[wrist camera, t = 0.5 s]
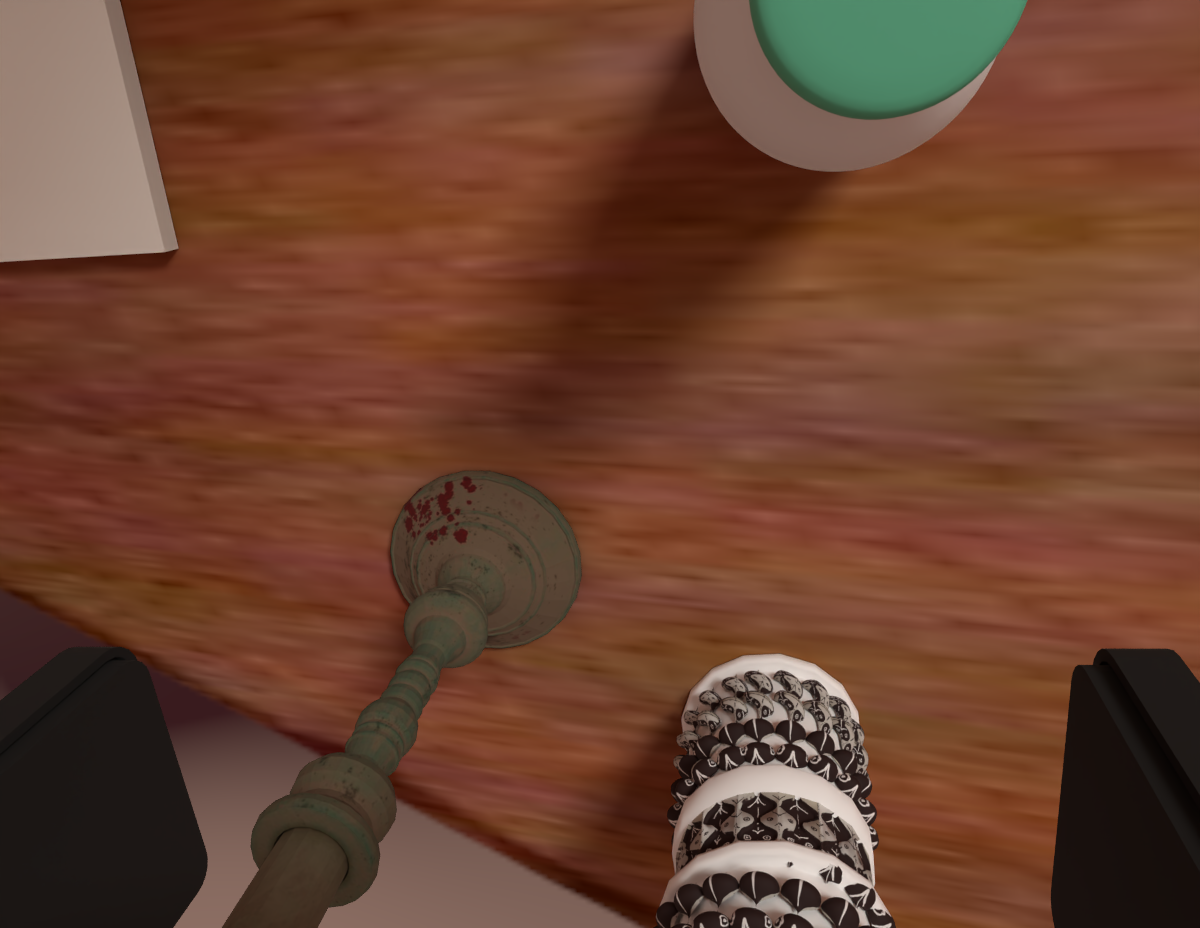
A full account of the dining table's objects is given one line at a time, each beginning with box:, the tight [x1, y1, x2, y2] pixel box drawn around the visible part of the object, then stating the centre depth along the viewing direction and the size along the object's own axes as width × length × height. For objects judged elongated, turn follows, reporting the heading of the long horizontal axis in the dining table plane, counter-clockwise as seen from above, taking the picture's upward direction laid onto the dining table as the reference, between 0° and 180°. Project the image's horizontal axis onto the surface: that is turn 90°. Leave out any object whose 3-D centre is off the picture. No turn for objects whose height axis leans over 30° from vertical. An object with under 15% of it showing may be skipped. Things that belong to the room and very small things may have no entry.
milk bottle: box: [694, 0, 1027, 172], centre depth 24 cm, size 8×8×20 cm
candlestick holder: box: [222, 471, 582, 928], centre depth 30 cm, size 9×9×30 cm
